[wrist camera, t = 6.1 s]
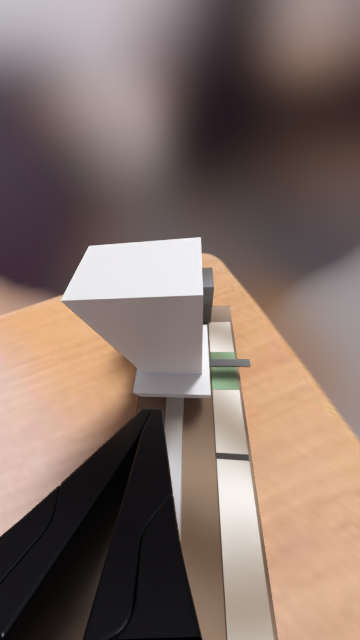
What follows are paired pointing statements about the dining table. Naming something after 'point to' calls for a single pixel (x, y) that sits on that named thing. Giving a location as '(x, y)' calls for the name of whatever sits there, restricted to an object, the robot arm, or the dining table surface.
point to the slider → (150, 312)
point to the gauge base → (218, 494)
